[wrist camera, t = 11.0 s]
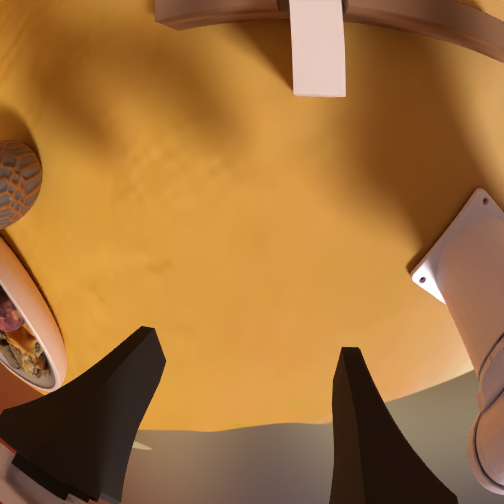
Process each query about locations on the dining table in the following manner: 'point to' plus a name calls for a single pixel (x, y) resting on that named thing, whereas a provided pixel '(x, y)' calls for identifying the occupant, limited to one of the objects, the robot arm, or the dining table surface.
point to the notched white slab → (318, 48)
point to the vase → (17, 181)
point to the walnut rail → (354, 18)
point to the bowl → (28, 328)
